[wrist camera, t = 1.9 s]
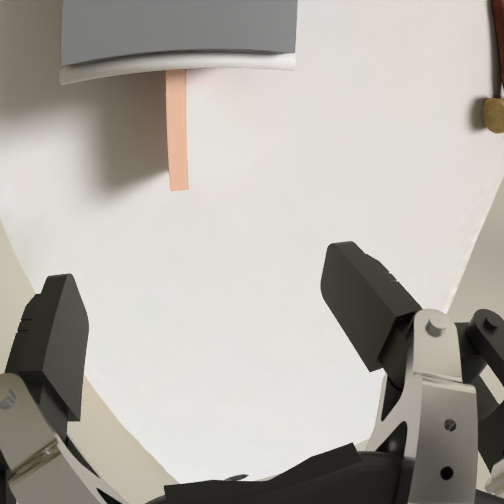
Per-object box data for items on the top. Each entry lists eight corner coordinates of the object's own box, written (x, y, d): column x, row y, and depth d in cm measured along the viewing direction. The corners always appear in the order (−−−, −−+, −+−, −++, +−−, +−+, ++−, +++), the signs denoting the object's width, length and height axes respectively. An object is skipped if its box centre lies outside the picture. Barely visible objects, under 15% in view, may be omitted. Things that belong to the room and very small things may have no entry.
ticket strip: (176, -90, 12) (180, -118, 8) (191, -90, 12) (199, -118, 8) (168, 168, 24) (170, 191, 20) (183, 166, 24) (188, 189, 20)
